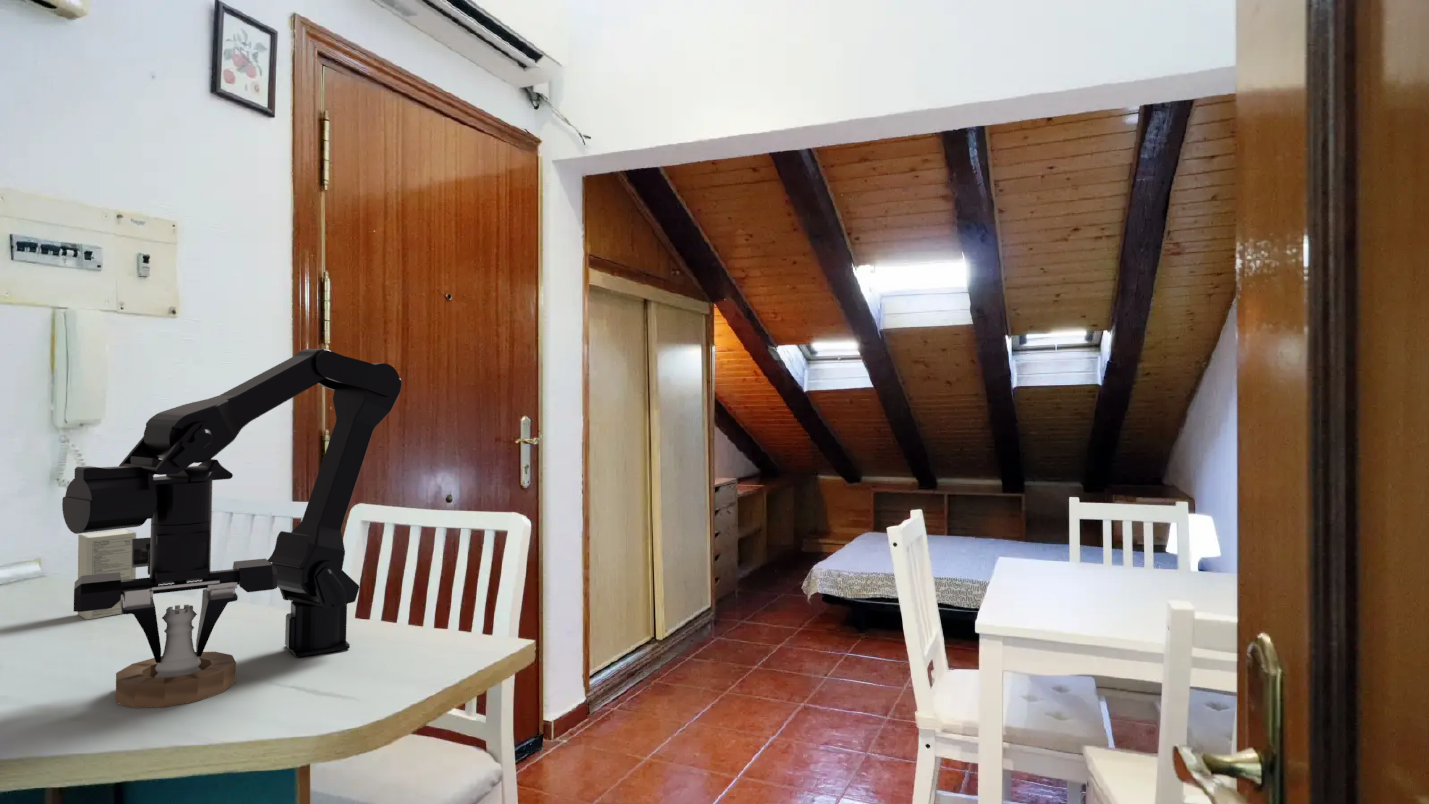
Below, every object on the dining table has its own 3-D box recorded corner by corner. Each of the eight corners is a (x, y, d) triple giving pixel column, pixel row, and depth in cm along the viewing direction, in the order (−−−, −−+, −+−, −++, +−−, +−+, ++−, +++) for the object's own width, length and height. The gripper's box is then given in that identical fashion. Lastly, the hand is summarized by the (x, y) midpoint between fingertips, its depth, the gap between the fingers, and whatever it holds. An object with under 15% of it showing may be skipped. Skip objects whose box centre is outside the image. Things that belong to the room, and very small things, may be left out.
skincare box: (125, 606, 121) (127, 528, 121) (136, 612, 119) (138, 531, 119) (75, 615, 116) (77, 533, 116) (84, 620, 114) (87, 536, 113)
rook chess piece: (177, 686, 86) (178, 614, 86) (143, 682, 87) (145, 611, 87) (211, 673, 91) (212, 604, 91) (179, 669, 92) (180, 601, 92)
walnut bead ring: (227, 665, 97) (227, 646, 97) (240, 693, 88) (240, 671, 88) (114, 683, 90) (115, 662, 90) (117, 715, 81) (117, 692, 81)
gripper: (263, 507, 101) (260, 628, 101) (77, 518, 89) (74, 654, 90) (279, 519, 92) (276, 651, 92) (75, 532, 81) (71, 684, 81)
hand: (178, 658), depth 89 cm, fingers closed on rook chess piece, 3 cm apart
